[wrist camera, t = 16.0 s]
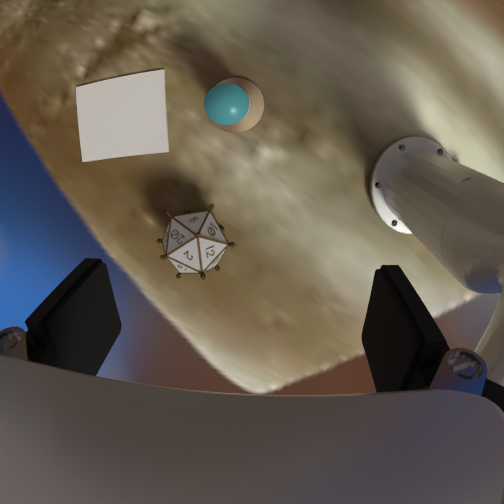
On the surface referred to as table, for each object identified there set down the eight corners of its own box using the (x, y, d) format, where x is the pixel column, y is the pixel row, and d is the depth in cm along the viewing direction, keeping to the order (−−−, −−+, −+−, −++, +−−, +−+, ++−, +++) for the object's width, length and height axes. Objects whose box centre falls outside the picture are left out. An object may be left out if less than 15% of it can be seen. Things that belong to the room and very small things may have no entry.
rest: (263, 77, 32) (263, 76, 31) (264, 131, 35) (264, 132, 34) (206, 79, 32) (205, 79, 32) (208, 133, 35) (207, 134, 34)
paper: (164, 69, 31) (163, 69, 31) (169, 151, 36) (168, 152, 36) (77, 87, 32) (75, 87, 32) (83, 161, 36) (82, 162, 36)
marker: (252, 87, 32) (247, 81, 24) (252, 119, 34) (248, 124, 25) (218, 89, 32) (203, 84, 24) (219, 120, 34) (205, 126, 26)
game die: (192, 225, 44) (131, 251, 37) (213, 179, 38) (143, 202, 31) (234, 274, 42) (174, 310, 35) (263, 232, 36) (196, 268, 29)
